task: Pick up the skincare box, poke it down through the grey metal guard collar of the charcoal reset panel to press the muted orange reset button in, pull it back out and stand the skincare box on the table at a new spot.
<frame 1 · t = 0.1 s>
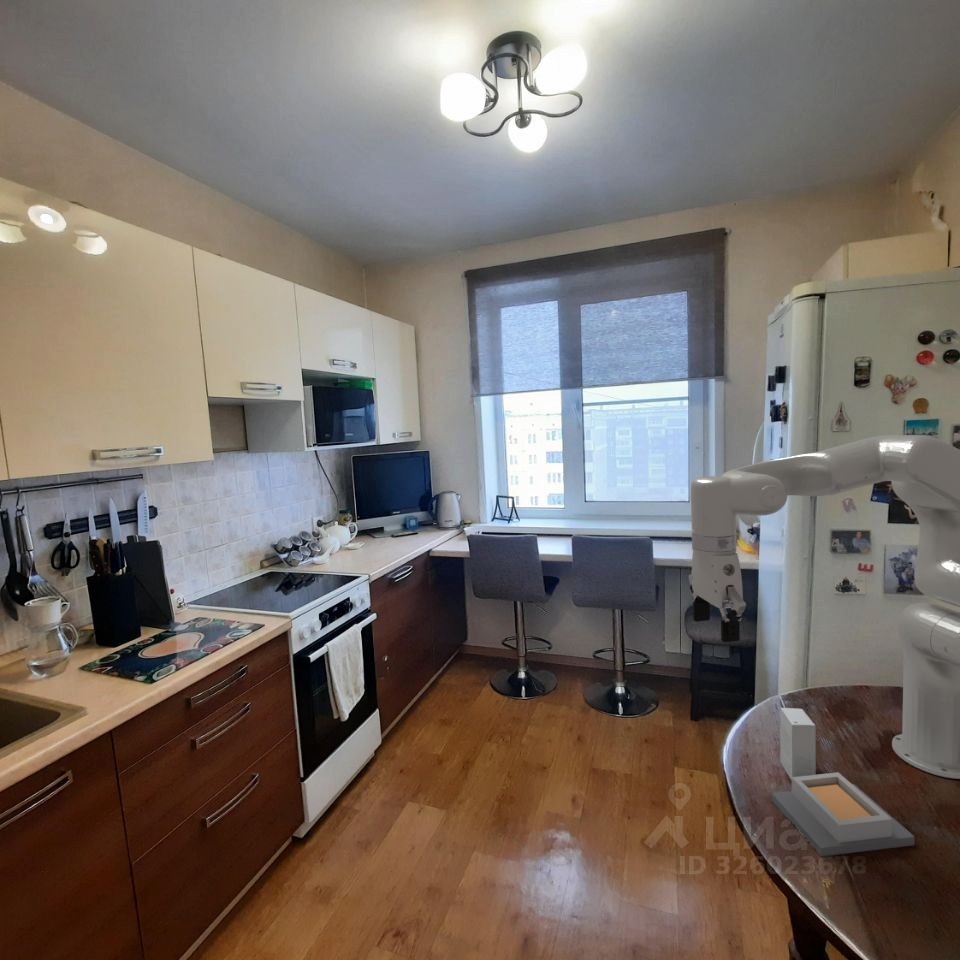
hand: (715, 630, 93), 31 cm above the table, tool pointing down, fingers open, 9 cm apart
reset panel: (838, 821, 85), on the table
reset button: (838, 806, 85), point 3 cm above the table, slide at 0.0 cm
skincare box: (797, 773, 97), on the table
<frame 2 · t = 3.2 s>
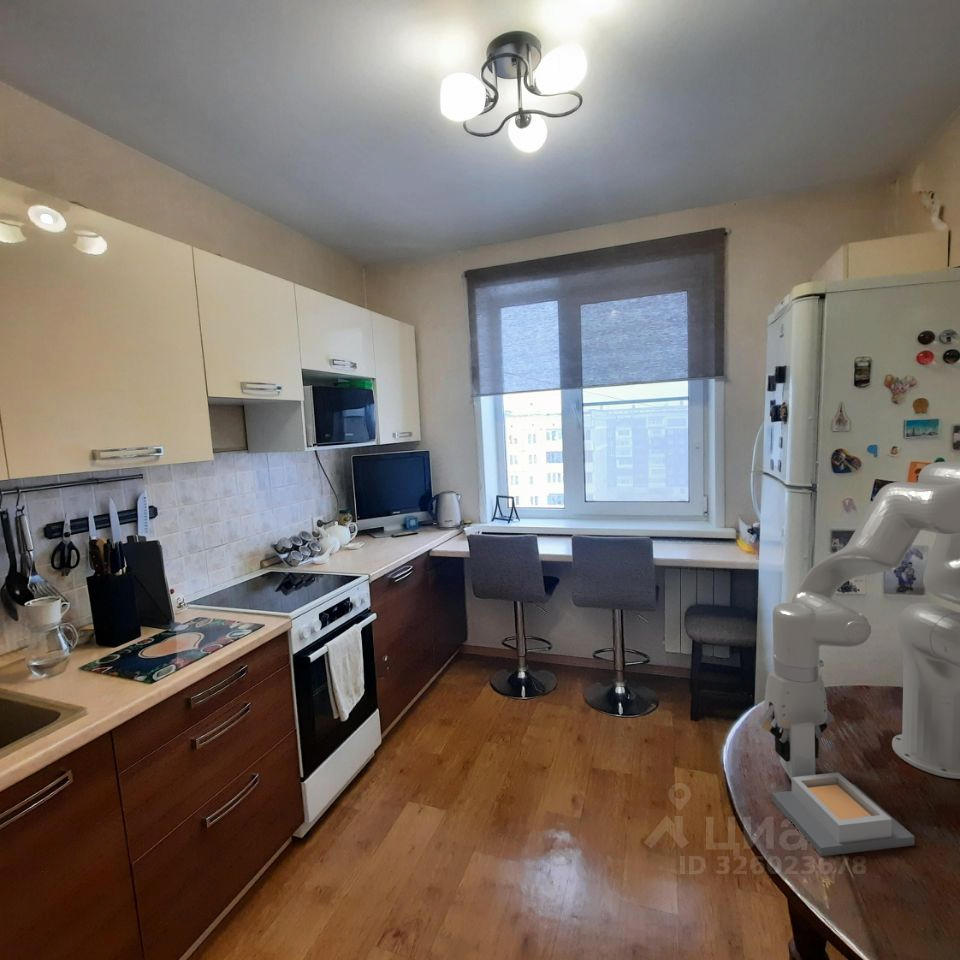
hand: (796, 754, 96), 4 cm above the table, tool pointing down, fingers closed on skincare box, 5 cm apart
skincare box: (797, 773, 97), on the table, touching gripper
everything else where it was.
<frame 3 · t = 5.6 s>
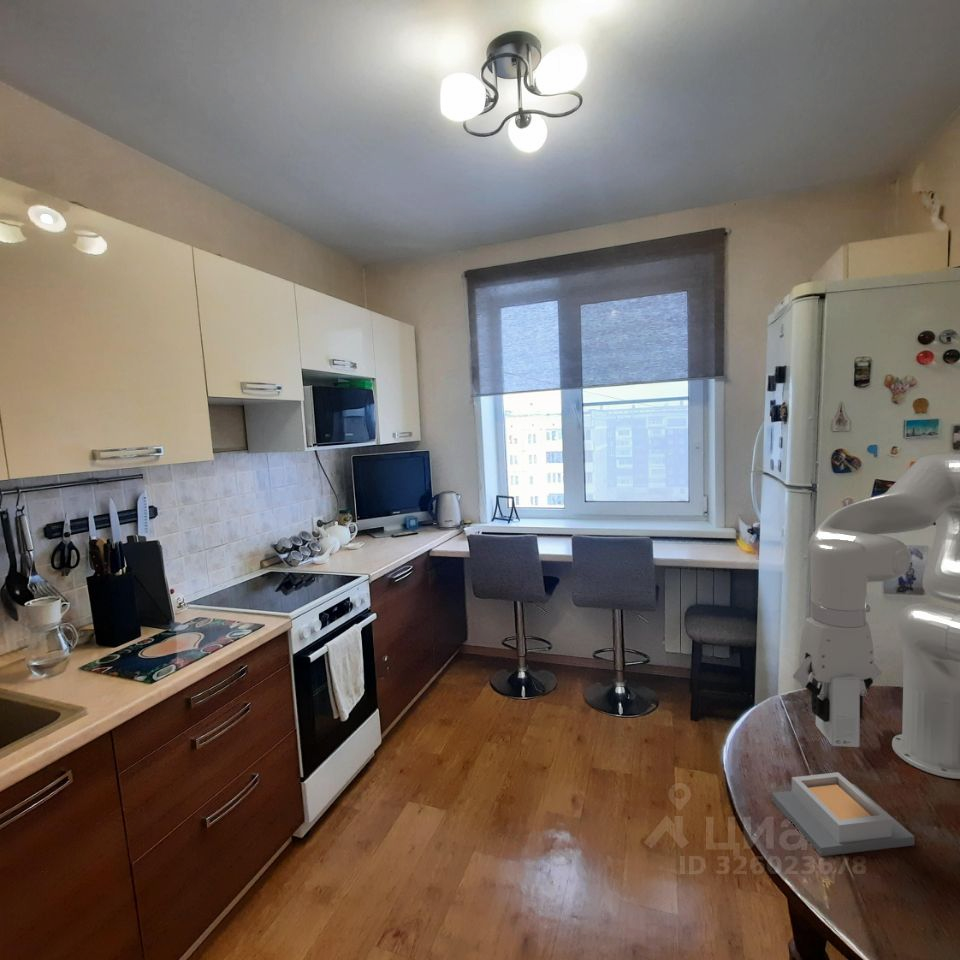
hand: (836, 714, 83), 19 cm above the table, tool pointing down, fingers closed on skincare box, 5 cm apart
skincare box: (836, 737, 84), point 15 cm above the table, touching gripper
everything else where it was.
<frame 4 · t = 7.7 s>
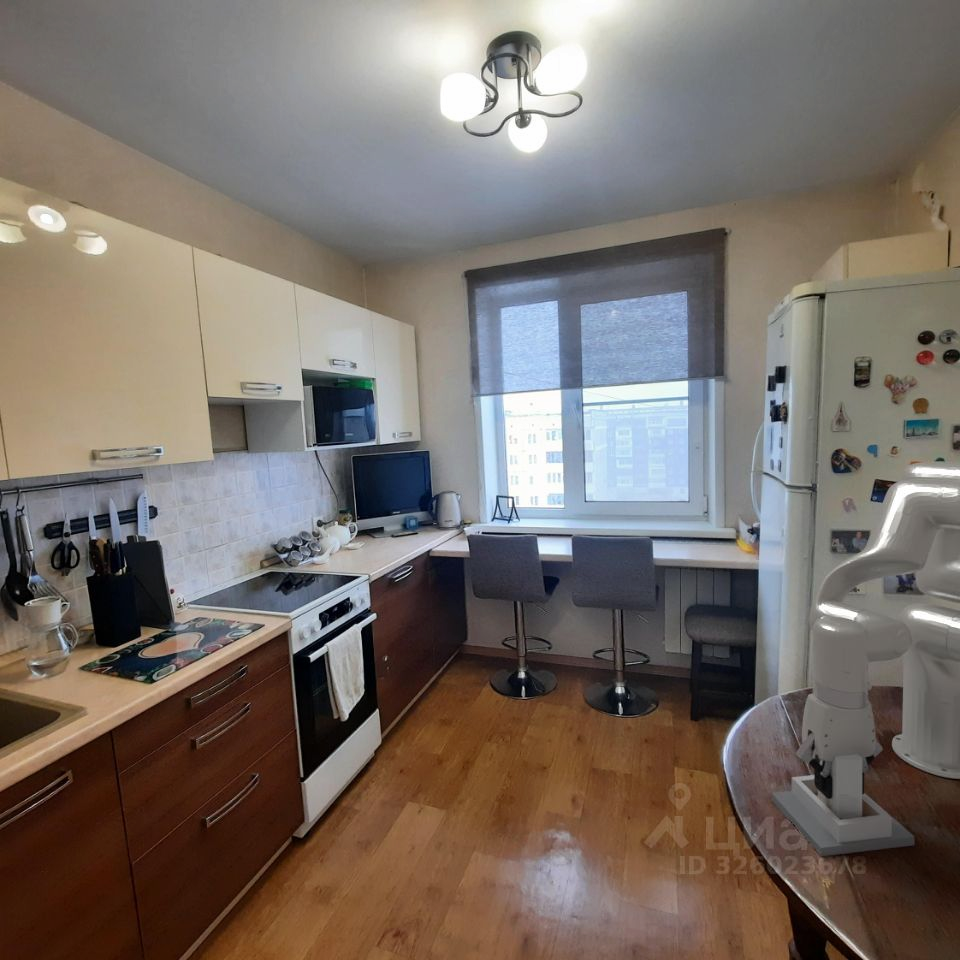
hand: (839, 789, 84), 6 cm above the table, tool pointing down, fingers closed on skincare box, 5 cm apart
reset button: (838, 815, 85), point 1 cm above the table, slide at 1.6 cm
skincare box: (839, 812, 85), point 2 cm above the table, touching gripper
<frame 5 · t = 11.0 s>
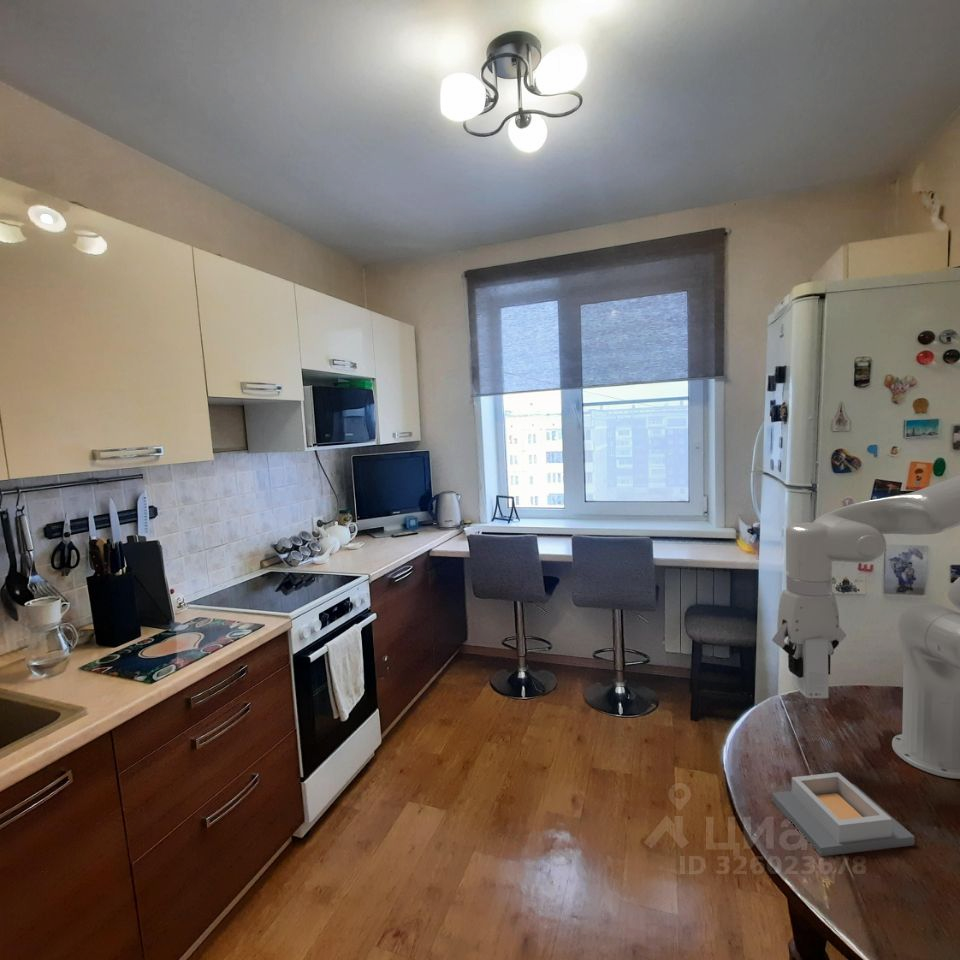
hand: (809, 671, 98), 19 cm above the table, tool pointing down, fingers closed on skincare box, 5 cm apart
skincare box: (809, 691, 98), point 15 cm above the table, touching gripper
everything else where it was.
when the fingers open (5 cm above the table, at t = 13.9 s): skincare box drops 1 cm, on the table.
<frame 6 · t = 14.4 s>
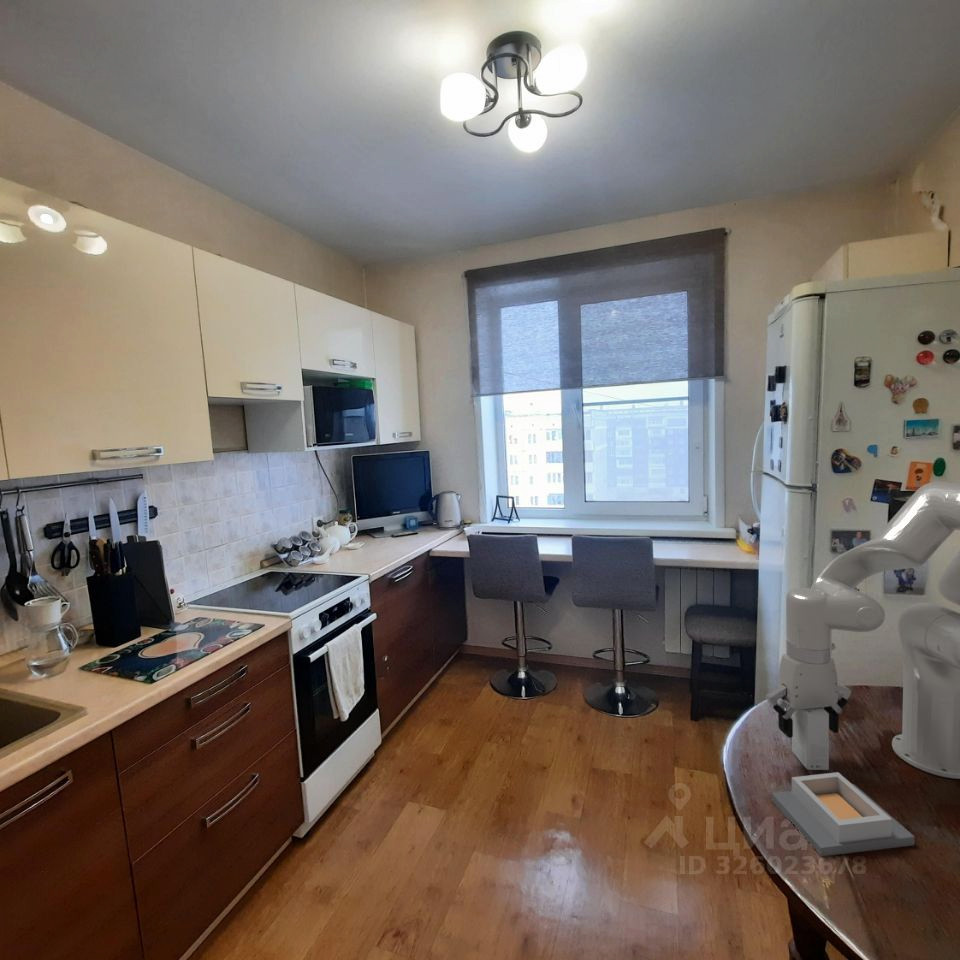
hand: (808, 731, 99), 6 cm above the table, tool pointing down, fingers open, 9 cm apart
skincare box: (809, 761, 100), on the table
everything else where it was.
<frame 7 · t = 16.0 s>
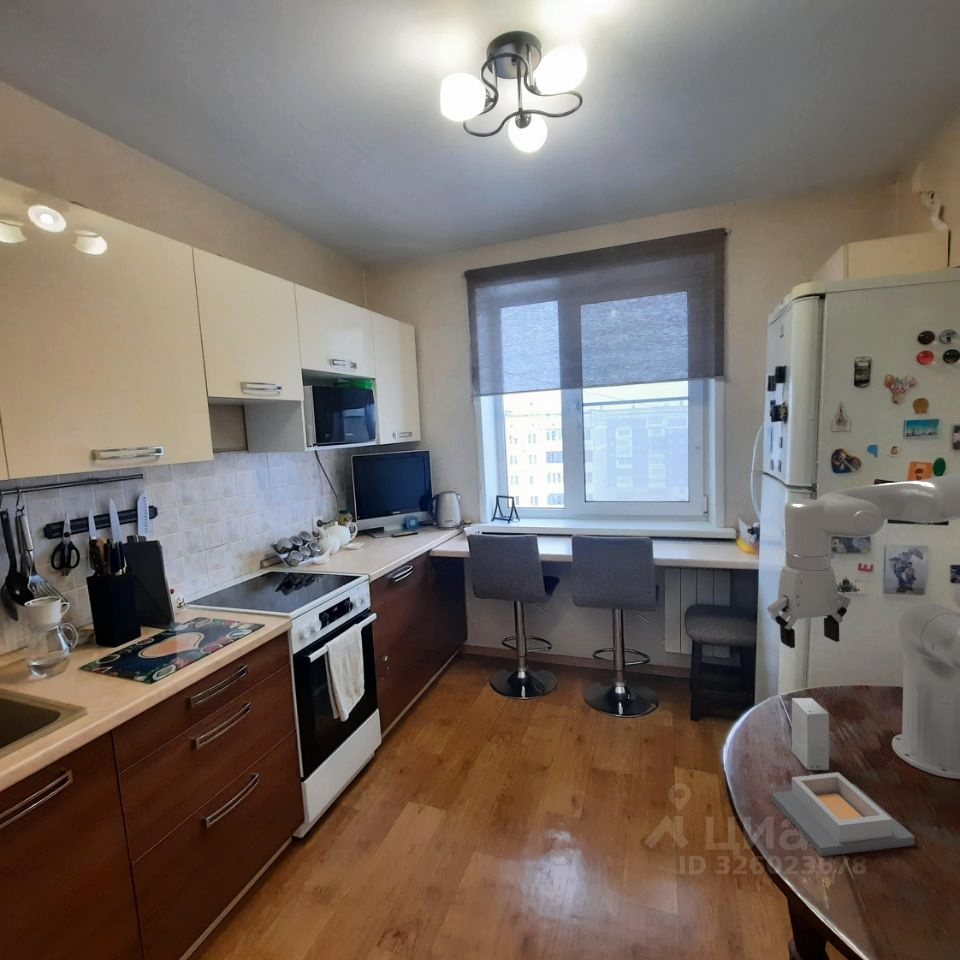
hand: (809, 642, 100), 24 cm above the table, tool pointing down, fingers open, 9 cm apart
nothing on the table moved.
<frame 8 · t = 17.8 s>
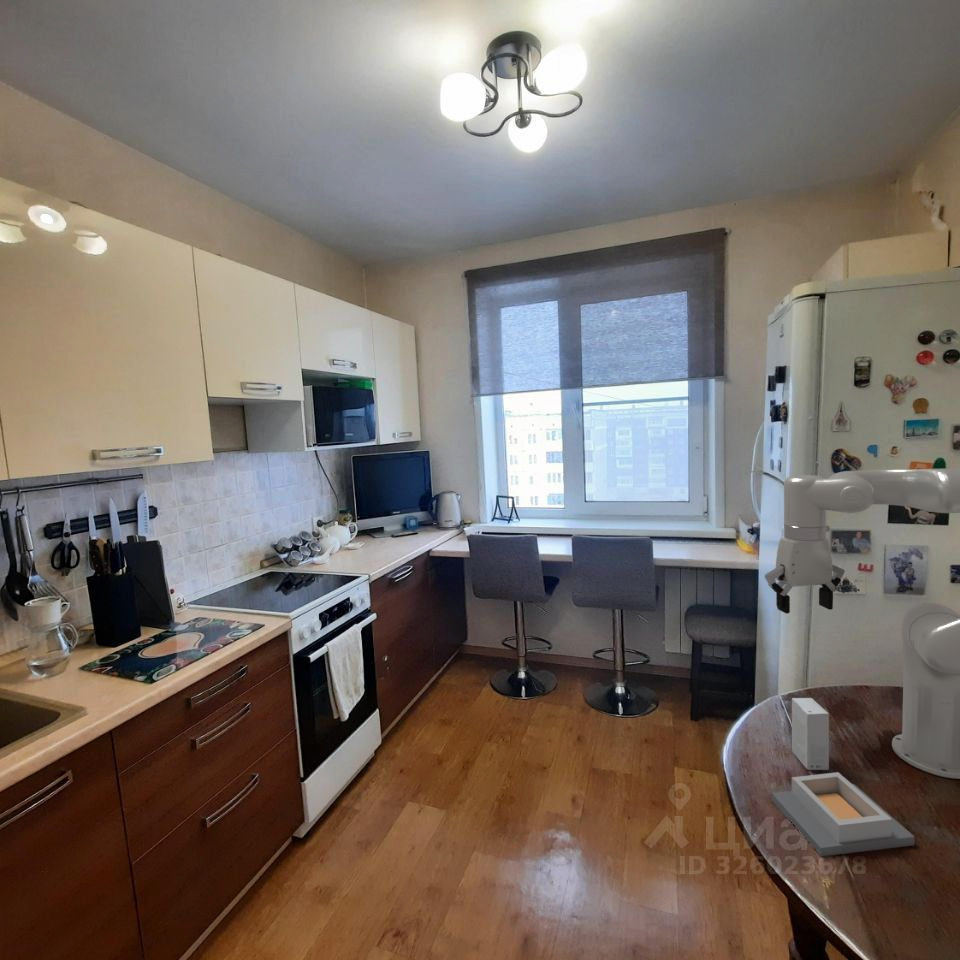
hand: (804, 609, 106), 28 cm above the table, tool pointing down, fingers open, 9 cm apart
nothing on the table moved.
at the end: reset button slide at 1.7 cm; skincare box inside the target area (0.2 cm from its centre), on the table; skincare box tilted 0° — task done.
